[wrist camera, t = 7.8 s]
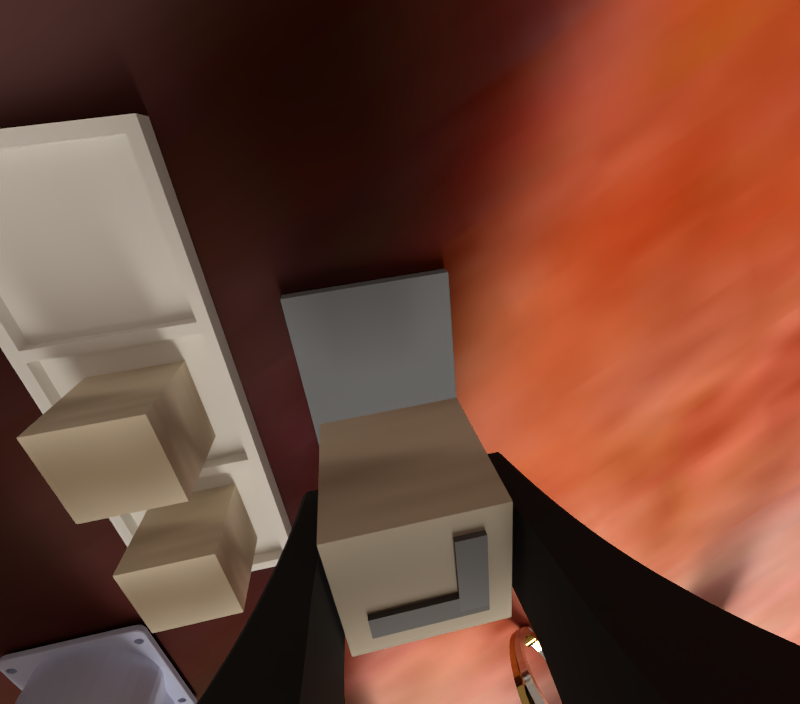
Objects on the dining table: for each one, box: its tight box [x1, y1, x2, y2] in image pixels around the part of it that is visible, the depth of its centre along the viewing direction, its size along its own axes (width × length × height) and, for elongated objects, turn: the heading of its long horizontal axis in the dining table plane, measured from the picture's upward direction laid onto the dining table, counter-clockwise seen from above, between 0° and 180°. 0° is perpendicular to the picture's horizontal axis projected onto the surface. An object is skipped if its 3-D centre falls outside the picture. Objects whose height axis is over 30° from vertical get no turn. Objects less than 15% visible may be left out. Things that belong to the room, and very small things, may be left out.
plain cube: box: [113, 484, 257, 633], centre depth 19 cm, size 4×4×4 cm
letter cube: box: [317, 398, 513, 657], centre depth 10 cm, size 4×4×4 cm
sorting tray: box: [0, 113, 292, 571], centre depth 17 cm, size 22×8×1 cm, turn 7°
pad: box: [280, 269, 456, 447], centre depth 18 cm, size 8×7×1 cm
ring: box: [510, 625, 549, 704], centre depth 27 cm, size 7×3×8 cm, turn 42°
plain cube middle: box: [17, 360, 216, 524], centre depth 16 cm, size 4×4×4 cm
